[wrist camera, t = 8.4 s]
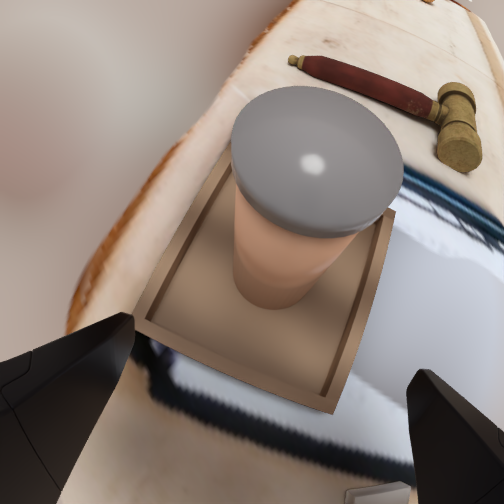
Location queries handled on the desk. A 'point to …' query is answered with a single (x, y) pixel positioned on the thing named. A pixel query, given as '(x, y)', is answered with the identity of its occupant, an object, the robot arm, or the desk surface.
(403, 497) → the mallet
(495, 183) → the desk surface
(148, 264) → the desk surface
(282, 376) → the walnut tray
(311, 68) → the gavel
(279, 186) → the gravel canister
